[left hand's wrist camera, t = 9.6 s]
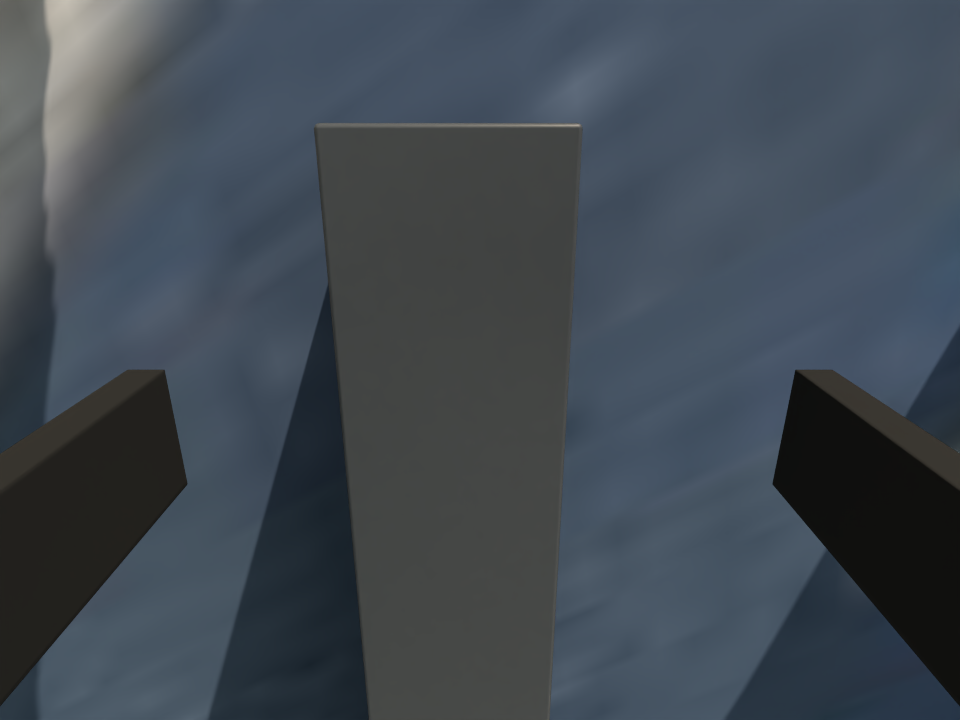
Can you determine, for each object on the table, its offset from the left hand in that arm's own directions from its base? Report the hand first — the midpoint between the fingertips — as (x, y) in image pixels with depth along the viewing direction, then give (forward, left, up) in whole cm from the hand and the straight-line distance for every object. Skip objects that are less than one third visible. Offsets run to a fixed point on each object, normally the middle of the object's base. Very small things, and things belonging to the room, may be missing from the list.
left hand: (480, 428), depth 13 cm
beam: (+18, +30, -8) cm, 36 cm away
